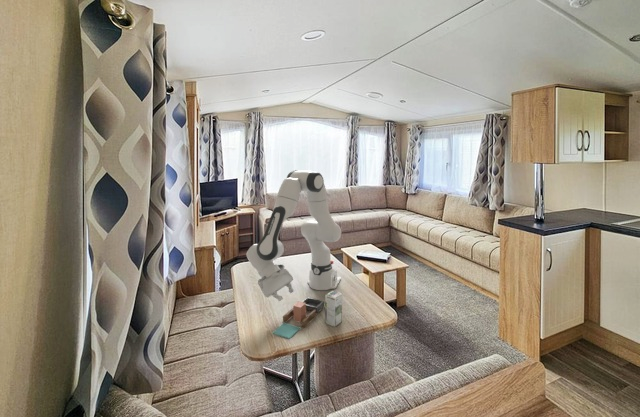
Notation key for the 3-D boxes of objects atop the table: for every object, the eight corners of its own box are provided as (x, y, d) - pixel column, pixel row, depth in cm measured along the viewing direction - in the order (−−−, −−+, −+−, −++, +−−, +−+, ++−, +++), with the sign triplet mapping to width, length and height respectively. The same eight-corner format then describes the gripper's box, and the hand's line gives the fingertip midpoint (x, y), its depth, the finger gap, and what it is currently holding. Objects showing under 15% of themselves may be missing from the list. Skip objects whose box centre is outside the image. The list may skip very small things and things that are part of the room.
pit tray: (307, 302, 165) (307, 297, 164) (324, 306, 160) (324, 300, 160) (299, 309, 158) (299, 303, 157) (317, 313, 153) (316, 307, 153)
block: (299, 315, 151) (298, 301, 150) (306, 317, 150) (305, 303, 148) (293, 320, 147) (293, 305, 146) (300, 322, 145) (300, 307, 144)
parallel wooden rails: (296, 310, 156) (296, 304, 156) (316, 315, 151) (316, 309, 150) (283, 322, 146) (282, 316, 145) (303, 327, 141) (303, 321, 140)
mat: (283, 323, 144) (283, 322, 144) (300, 328, 140) (300, 327, 140) (272, 333, 137) (272, 332, 136) (289, 339, 132) (289, 338, 132)
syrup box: (332, 318, 149) (332, 289, 146) (342, 322, 145) (342, 293, 142) (325, 323, 144) (324, 294, 142) (335, 327, 141) (335, 297, 138)
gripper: (259, 277, 142) (278, 301, 139) (284, 263, 160) (301, 284, 157) (252, 284, 145) (270, 308, 142) (278, 270, 163) (294, 291, 160)
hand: (287, 296), depth 150 cm, fingers open, 8 cm apart
